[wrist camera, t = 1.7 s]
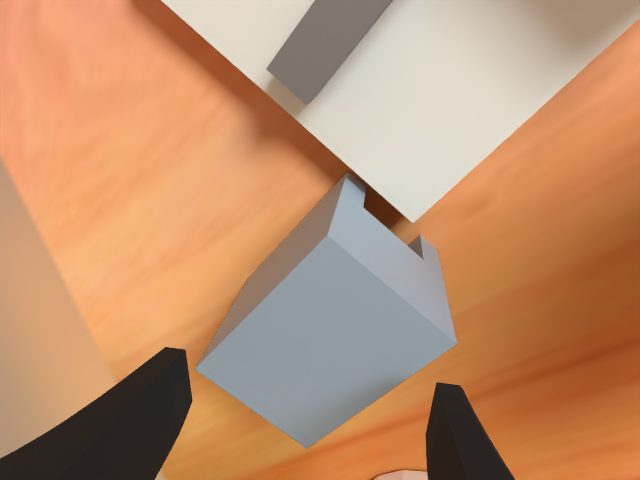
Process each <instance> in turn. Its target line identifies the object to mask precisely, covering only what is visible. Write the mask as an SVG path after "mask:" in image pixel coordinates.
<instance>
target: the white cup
mask: <svg viewBox="0 0 640 480" xmlns="http://www.w3.org/2000/svg"><path fill="white" fill-rule="evenodd" d="M373 480H428V476H427V472H425V471H414V470H399V471H395V472H390V473H386V474H382V475H379V476H377V477H376V478H375V479H373Z"/></svg>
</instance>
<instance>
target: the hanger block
mask: <svg viewBox="0 0 640 480" xmlns="http://www.w3.org/2000/svg"><path fill="white" fill-rule="evenodd" d="M365 193H366V187H365V186H364V185H363V184H362V183H361V182H360V181H359V180H357V179H356V178H355V177H354V176H353V175H352V174H351V173H349V172H348V171H347V172H346V173H345V175H344V176H343V177H342V178H341V179H340V180H339V181H338V182H337V183H336V184H335V185H334V186H333V187H332V189H331V190H330V191H329V192H328V193H327V194H326V195H325V196H324V197H323V198H322V199H321V200H320V201H319V203H318V204H317V205H316V206H315V207H314V208H313V209H312V210H311V211H310V212H309V213H308V214H307V215H306V217H305V218H304V219H303V220H302V221H301V222H300V223H299V224H298V225H297V226H296V227H295V228H294V229H293V231H292V232H291V233H290V234H289V235H288V236H287V237H286V238H285V239H284V240H283V241H282V242H281V243H280V245H279V246H278V247H277V248H276V249H275V250H274V251H273V252H272V253H271V254H270V255H269V256H268V257H267V258H266V260H265V261H264V262H263V263H262V264H261V265H260V266H259V267H258V268H257V269H256V270H255V271H254V272H253V274H252V275H251V276H250V277H249V278H248V279H247V281H246V283H245V284H244V286H243V288H242V289H241V291H240V293H239V295H238V296H237V298H236V300H235V301H234V303H233V305H232V306H231V308H230V310H229V312H228V313H227V315H226V317H225V318H224V320H223V322H222V324H221V325H220V327H219V329H218V330H217V332H216V334H215V335H214V337H213V339H212V341H211V342H210V344H209V346H208V347H207V349H206V351H205V353H204V354H203V356H202V358H201V359H200V361H199V363H198V364H197V366H196V368H195V370H196V371H198V372H199V373H201V374H202V375H204V376H205V377H206V378H208V379H209V380H211V381H212V382H213V383H215V384H216V385H218V386H219V387H220V388H222V389H223V390H225V391H226V392H228V393H229V394H230V395H232V396H233V397H235V398H236V399H237V400H239V401H240V402H242V403H243V404H244V405H246V406H247V407H249V408H250V409H252V410H253V411H254V412H256V413H257V414H259V415H260V416H261V417H263V418H264V419H266V420H267V421H268V422H270V423H271V424H273V425H274V426H276V427H277V428H278V429H280V430H281V431H283V432H284V433H285V434H287V435H288V436H290V437H291V438H292V439H294V440H295V441H297V442H298V443H300V444H301V445H302V446H304V447H305V448H309V447H310V446H312V445H313V444H315V443H316V442H317V441H319V440H320V439H322V438H323V437H325V436H326V435H327V434H329V433H330V432H332V431H333V430H335V429H336V428H337V427H339V426H340V425H342V424H343V423H345V422H346V421H347V420H349V419H350V418H352V417H353V416H355V415H356V414H357V413H359V412H360V411H362V410H363V409H365V408H366V407H367V406H369V405H370V404H372V403H373V402H375V401H376V400H377V399H379V398H380V397H382V396H383V395H385V394H386V393H387V392H389V391H390V390H392V389H393V388H395V387H396V386H397V385H399V384H400V383H402V382H403V381H405V380H406V379H407V378H409V377H410V376H412V375H413V374H415V373H416V372H417V371H419V370H420V369H422V368H423V367H425V366H426V365H427V364H429V363H430V362H432V361H433V360H435V359H436V358H437V357H439V356H440V355H442V354H443V353H445V352H446V351H447V350H449V349H450V348H452V347H453V346H455V345H456V344H457V340H456V336H455V331H454V326H453V322H452V317H451V312H450V308H449V303H448V298H447V293H446V289H445V284H444V279H443V275H442V270H441V265H440V260H439V256H438V251H437V249H436V248H434V247H433V246H432V245H431V244H430V243H429V242H428V241H427V240H425V239H424V238H423V237H422V236H421V235H419V236H418V237H417V238H416V239H415V240H414V241H413V242H411V243H410V244H409V245H408V246H407V245H406V244H405V243H404V242H402V241H401V240H400V239H399V238H398V237H397V236H396V235H394V234H393V233H392V232H391V231H390V230H389V229H387V228H386V227H385V226H384V225H383V224H382V223H381V222H379V221H378V220H377V219H376V218H375V217H374V216H373V215H371V214H370V213H369V212H368V211H367V210H366V209H364V208H363V206H364V200H365Z"/></svg>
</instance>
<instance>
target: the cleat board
mask: <svg viewBox="0 0 640 480" xmlns="http://www.w3.org/2000/svg"><path fill="white" fill-rule="evenodd" d="M161 1H162V2H163V3H165V4H166V5H167V6H168V7H169V8H170V9H171V10H172V11H174V12H175V13H176V14H177V15H178V16H179V17H180V18H181V19H183V20H184V21H185V22H186V23H187V24H188V25H189V26H191V27H192V28H193V29H194V30H195V31H196V32H197V33H198V34H200V35H201V36H202V37H203V38H204V39H205V40H206V41H207V42H209V43H210V44H211V45H212V46H213V47H214V48H215V49H216V50H218V51H219V52H220V53H221V54H222V55H223V56H224V57H226V58H227V59H228V60H229V61H230V62H231V63H232V64H233V65H235V66H236V67H237V68H238V69H239V70H240V71H241V72H242V73H244V74H245V75H246V76H247V77H248V78H249V79H250V80H251V81H253V82H254V83H255V84H256V85H257V86H258V87H259V88H261V89H262V90H263V91H264V92H265V93H266V94H267V95H268V96H270V97H271V98H272V99H273V100H274V101H275V102H276V103H277V104H279V105H280V106H281V107H282V108H283V109H284V110H285V111H286V112H288V113H289V114H290V115H291V116H292V117H293V118H294V119H296V120H297V121H298V122H299V123H300V124H301V125H302V126H303V127H305V128H306V129H307V130H308V131H309V132H310V133H311V134H312V135H314V136H315V137H316V138H317V139H318V140H319V141H320V142H321V143H323V144H324V145H325V146H326V147H327V148H328V149H329V150H331V151H332V152H333V153H334V154H335V155H336V156H337V157H338V158H340V159H341V160H342V161H343V162H344V163H345V164H346V165H347V166H349V167H350V168H351V169H352V170H353V171H354V172H355V173H356V174H358V175H359V176H360V177H361V178H362V179H363V180H364V181H365V182H367V183H368V184H369V185H370V186H371V187H372V188H373V189H375V190H376V191H377V192H378V193H379V194H380V195H381V196H382V197H384V198H385V199H386V200H387V201H388V202H389V203H390V204H391V205H393V206H394V207H395V208H396V209H397V210H398V211H399V212H400V213H402V214H403V215H404V216H405V217H406V218H407V219H408V220H410V221H411V222H412V223H414V222H415V221H416V220H417V219H418V218H420V217H421V216H422V215H423V214H424V213H425V212H426V211H427V210H428V209H429V208H431V207H432V206H433V205H434V204H435V203H436V202H437V201H438V200H439V199H441V198H442V197H443V196H444V195H445V194H446V193H447V192H448V191H449V190H450V189H452V188H453V187H454V186H455V185H456V184H457V183H458V182H459V181H460V180H461V179H463V178H464V177H465V176H466V175H467V174H468V173H469V172H470V171H471V170H472V169H474V168H475V167H476V166H477V165H478V164H479V163H480V162H481V161H482V160H483V159H485V158H486V157H487V156H488V155H489V154H490V153H491V152H492V151H493V150H495V149H496V148H497V147H498V146H499V145H500V144H501V143H502V142H503V141H504V140H506V139H507V138H508V137H509V136H510V135H511V134H512V133H513V132H514V131H515V130H517V129H518V128H519V127H520V126H521V125H522V124H523V123H524V122H525V121H526V120H528V119H529V118H530V117H531V116H532V115H533V114H534V113H535V112H536V111H537V110H539V109H540V108H541V107H542V106H543V105H544V104H545V103H546V102H547V101H549V100H550V99H551V98H552V97H553V96H554V95H555V94H556V93H557V92H558V91H560V90H561V89H562V88H563V87H564V86H565V85H566V84H567V83H568V82H569V81H571V80H572V79H573V78H574V77H575V76H576V75H577V74H578V73H579V72H580V71H582V70H583V69H584V68H585V67H586V66H587V65H588V64H589V63H590V62H591V61H593V60H594V59H595V58H596V57H597V56H598V55H599V54H600V53H601V52H603V51H604V50H605V49H606V48H607V47H608V46H609V45H610V44H611V43H612V42H614V41H615V40H616V39H617V38H618V37H619V36H620V35H621V34H622V33H623V32H625V31H626V30H627V29H628V28H629V27H630V26H631V25H632V24H633V23H634V22H636V21H637V20H638V19H639V18H640V0H161Z"/></svg>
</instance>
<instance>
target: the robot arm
mask: <svg viewBox="0 0 640 480" xmlns="http://www.w3.org/2000/svg"><path fill="white" fill-rule="evenodd" d="M191 403H192V394H191V387H190V379H189V372H188V365H187V358H186V351H185V350H184V349H176V348H169V347H165V348H164V349H163V350H161V351H160V352H158V353H157V354H156V355H154V356H153V357H152V358H151V359H149V360H148V361H147V362H145V363H144V364H143V365H141V366H140V367H139V368H138V369H136V370H135V371H134V372H132V373H131V374H130V375H128V376H127V377H126V378H124V379H123V380H122V381H120V382H119V383H118V384H116V385H115V386H114V387H112V388H111V389H110V390H108V391H107V392H106V393H104V394H103V395H102V396H100V397H99V398H97V399H96V400H94V401H93V402H92V403H90V404H89V405H87V406H86V407H84V408H83V409H81V410H80V411H78V412H77V413H76V414H74V415H73V416H71V417H70V418H68V419H67V420H65V421H64V422H62V423H61V424H59V425H58V426H56V427H55V428H53V429H51V430H50V431H48V432H46V433H45V434H43V435H41V436H40V437H38V438H36V439H35V440H33V441H31V442H30V443H28V444H26V445H24V446H23V447H21V448H19V449H17V450H16V451H14V452H12V453H10V454H8V455H6V456H4V457H2V458H1V459H0V480H155V478H156V476H157V474H158V472H159V471H160V469H161V467H162V465H163V463H164V462H165V460H166V458H167V456H168V454H169V452H170V450H171V449H172V447H173V445H174V443H175V441H176V439H177V437H178V435H179V433H180V431H181V429H182V426H183V424H184V421H185V419H186V416H187V414H188V411H189V409H190V406H191ZM426 457H427V476H428V480H515V478H514V477H513V475H512V474H511V472H510V471H509V469H508V468H507V466H506V465H505V463H504V461H503V460H502V458H501V457H500V455H499V453H498V452H497V450H496V448H495V447H494V445H493V444H492V442H491V440H490V439H489V437H488V435H487V434H486V432H485V430H484V428H483V426H482V425H481V423H480V421H479V419H478V418H477V416H476V414H475V412H474V410H473V408H472V406H471V404H470V402H469V401H468V399H467V397H466V395H465V393H464V390H463V389H462V388H461V386H460V385H452V384H445V383H436V388H435V393H434V397H433V402H432V407H431V412H430V417H429V422H428V426H427V431H426Z"/></svg>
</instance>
